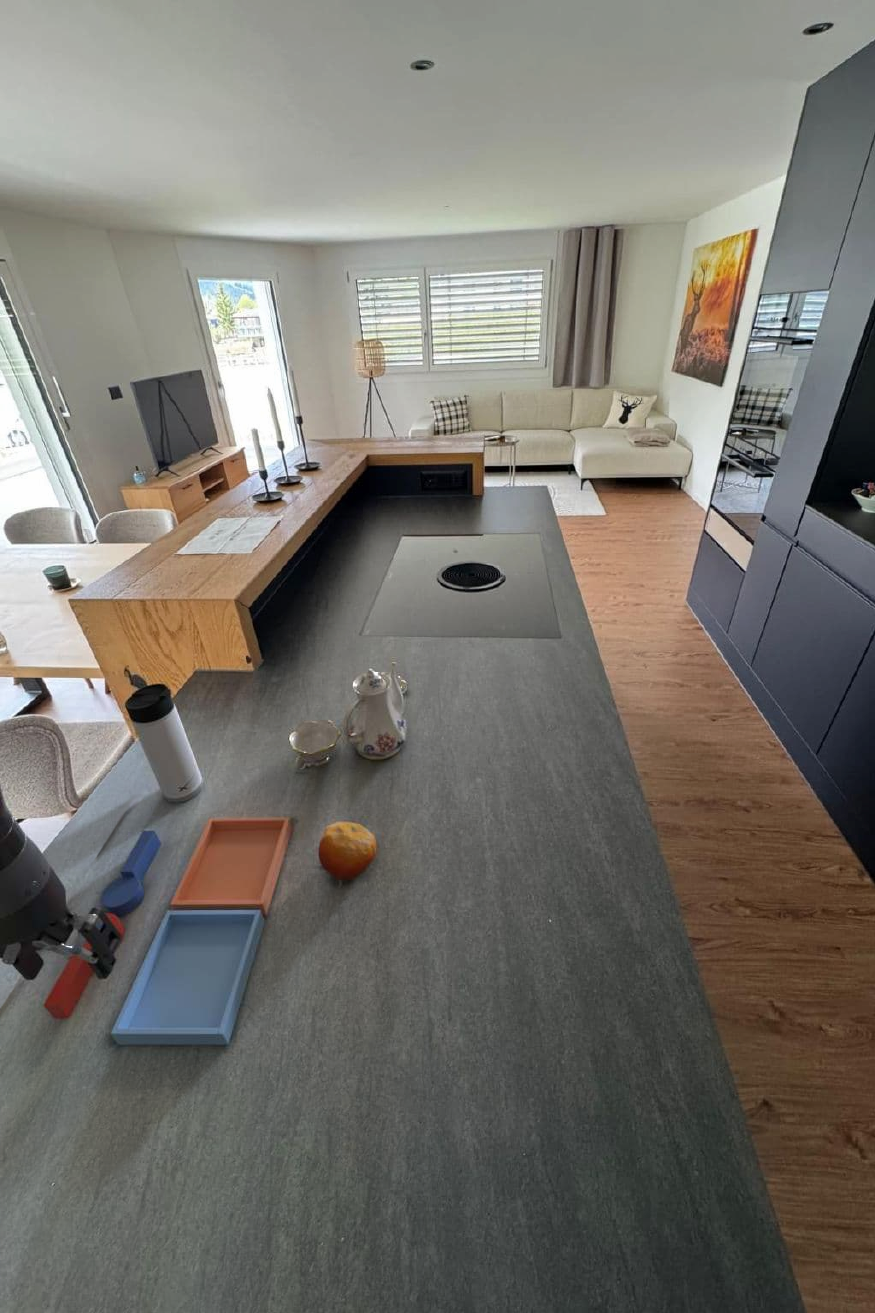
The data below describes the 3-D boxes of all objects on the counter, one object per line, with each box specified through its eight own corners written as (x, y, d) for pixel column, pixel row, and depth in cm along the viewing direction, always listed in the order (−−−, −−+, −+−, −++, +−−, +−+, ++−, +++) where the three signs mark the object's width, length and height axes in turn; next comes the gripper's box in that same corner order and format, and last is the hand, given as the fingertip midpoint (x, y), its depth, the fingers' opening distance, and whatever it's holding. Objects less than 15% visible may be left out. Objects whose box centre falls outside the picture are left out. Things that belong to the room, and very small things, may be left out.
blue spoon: (139, 844, 83) (133, 830, 81) (171, 843, 83) (165, 830, 81) (98, 916, 73) (90, 902, 72) (134, 916, 73) (126, 902, 72)
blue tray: (118, 1044, 60) (109, 1034, 59) (172, 921, 72) (166, 910, 71) (228, 1045, 60) (222, 1034, 59) (265, 921, 72) (260, 909, 71)
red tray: (175, 916, 73) (169, 904, 72) (213, 829, 85) (209, 818, 84) (266, 915, 73) (262, 904, 71) (292, 828, 84) (289, 817, 83)
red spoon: (82, 1018, 63) (71, 1005, 61) (41, 1018, 63) (29, 1005, 61) (131, 922, 73) (123, 908, 71) (95, 922, 73) (86, 908, 71)
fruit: (297, 869, 77) (314, 817, 75) (339, 856, 83) (355, 809, 82) (333, 904, 72) (352, 850, 71) (375, 888, 78) (393, 838, 77)
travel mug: (197, 803, 90) (159, 705, 79) (157, 803, 90) (113, 706, 79) (211, 775, 95) (177, 679, 84) (173, 775, 95) (134, 680, 84)
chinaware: (377, 692, 116) (361, 621, 107) (446, 708, 107) (435, 632, 99) (283, 779, 96) (255, 699, 87) (359, 807, 87) (336, 722, 79)
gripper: (95, 852, 58) (146, 939, 67) (-36, 855, 59) (32, 941, 68) (52, 919, 52) (115, 1005, 61) (-94, 921, 53) (-10, 1007, 61)
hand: (72, 971), depth 64 cm, fingers open, 8 cm apart
